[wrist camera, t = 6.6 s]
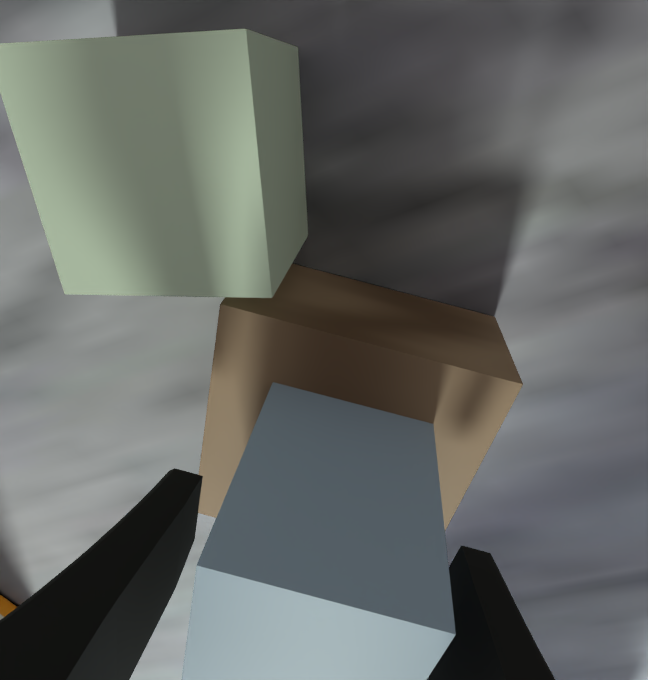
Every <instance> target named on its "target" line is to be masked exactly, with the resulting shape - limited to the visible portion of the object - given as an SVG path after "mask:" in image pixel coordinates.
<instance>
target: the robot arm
mask: <svg viewBox="0 0 648 680" xmlns="http://www.w3.org/2000/svg"><path fill="white" fill-rule="evenodd" d="M202 478H203V476H201V475H197V474H193V473H190V472H186V471H182V470H178V469H173V470H170V471H169V472H168V473H167V474H166V475H165V476H164V477H163V478H162V479H161V480H160V481H159V483H158V484H157V485H156V486H155V487H154V488H153V489H152V490H151V491H150V492H149V493H148V494H147V495H146V496H145V497H144V498H143V499H142V500H141V501H140V502H139V503H138V504H137V505H136V506H135V507H134V508H133V509H132V510H131V511H130V512H129V513H127V514H126V515H125V516H124V517H123V518H122V519H121V520H120V521H119V522H118V523H117V524H116V525H115V526H114V527H112V528H111V529H110V530H109V531H108V532H107V533H106V534H105V535H104V536H102V537H101V538H100V539H99V540H98V541H97V542H96V543H95V544H94V545H93V546H91V547H90V548H89V549H88V550H87V551H86V552H85V553H83V554H82V555H81V556H80V557H79V558H78V559H76V560H75V561H74V562H73V563H72V564H70V565H69V566H68V567H67V568H65V569H64V570H63V571H62V572H61V573H59V574H58V575H57V576H56V577H55V578H53V579H52V580H51V581H50V582H48V583H47V584H46V585H45V586H44V587H42V588H41V589H40V590H39V591H37V592H36V593H35V594H34V595H32V596H31V597H30V598H29V599H27V600H26V601H25V602H23V603H22V604H21V605H19V606H18V607H17V608H16V609H14V610H13V611H12V612H10V613H9V614H8V615H6V616H5V617H4V618H2V619H1V620H0V680H129V679H130V677H131V675H132V673H133V671H134V669H135V667H136V665H137V663H138V661H139V659H140V657H141V655H142V653H143V651H144V649H145V647H146V645H147V643H148V641H149V639H150V637H151V636H152V634H153V632H154V630H155V628H156V626H157V624H158V622H159V620H160V618H161V616H162V614H163V612H164V610H165V608H166V606H167V604H168V602H169V600H170V598H171V596H172V594H173V592H174V590H175V588H176V585H177V583H178V580H179V578H180V575H181V573H182V570H183V568H184V565H185V562H186V560H187V557H188V555H189V552H190V549H191V547H192V544H193V542H194V539H195V531H196V524H197V516H198V509H199V501H200V493H201V486H202ZM449 575H450V584H451V594H452V603H453V612H454V622H455V631H456V635H455V637H454V638H453V640H452V641H451V643H450V644H449V646H448V647H447V649H446V651H445V652H444V654H443V655H442V657H441V658H440V660H439V661H438V663H437V664H436V666H435V668H434V669H433V671H432V672H431V674H430V675H429V680H555V679H554V677H553V675H552V673H551V671H550V669H549V667H548V666H547V664H546V662H545V660H544V658H543V656H542V654H541V653H540V651H539V649H538V647H537V645H536V643H535V641H534V639H533V637H532V635H531V633H530V631H529V630H528V628H527V626H526V624H525V622H524V620H523V618H522V616H521V614H520V612H519V610H518V608H517V606H516V604H515V602H514V600H513V598H512V596H511V594H510V592H509V590H508V588H507V586H506V584H505V582H504V580H503V577H502V575H501V573H500V571H499V569H498V567H497V565H496V563H495V561H494V559H493V557H492V556H491V554H490V553H487V552H484V551H480V550H476V549H472V548H469V547H465V546H461V547H460V549H459V551H458V552H457V554H456V556H455V558H454V559H453V561H452V563H451V565H450V566H449Z"/></svg>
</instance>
